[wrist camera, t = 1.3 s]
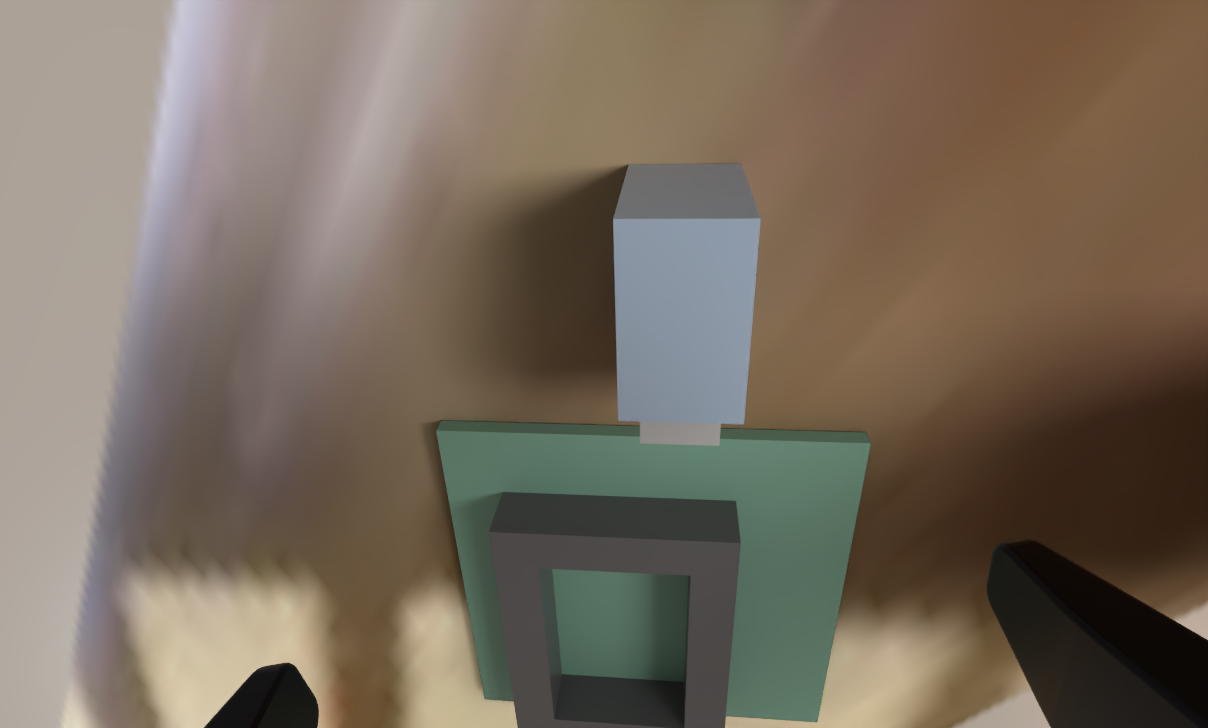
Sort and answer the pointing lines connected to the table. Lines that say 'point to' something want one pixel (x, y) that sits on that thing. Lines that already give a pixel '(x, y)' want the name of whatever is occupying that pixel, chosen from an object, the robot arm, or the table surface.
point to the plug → (684, 299)
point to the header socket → (615, 544)
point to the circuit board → (659, 602)
